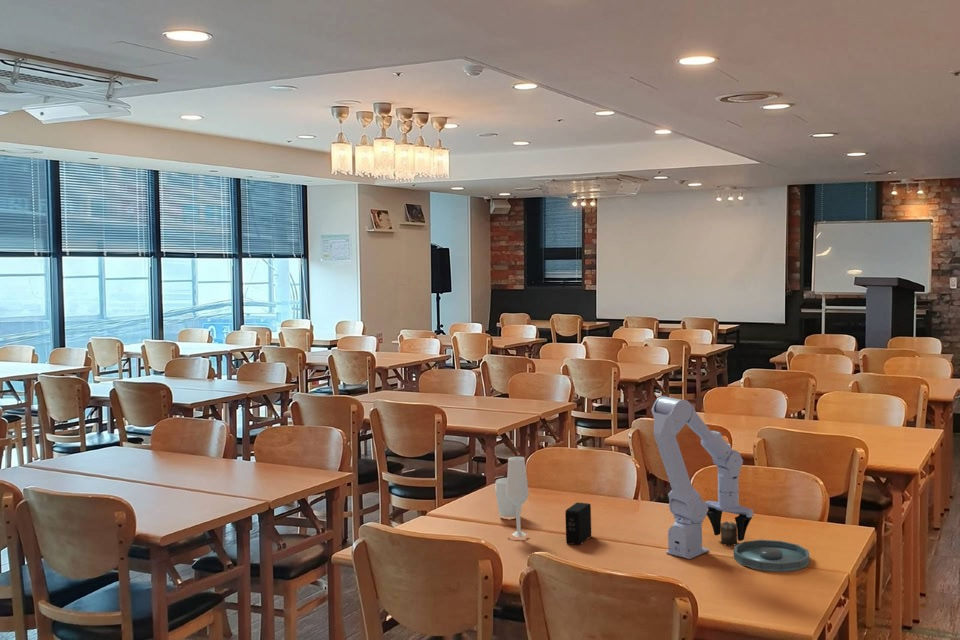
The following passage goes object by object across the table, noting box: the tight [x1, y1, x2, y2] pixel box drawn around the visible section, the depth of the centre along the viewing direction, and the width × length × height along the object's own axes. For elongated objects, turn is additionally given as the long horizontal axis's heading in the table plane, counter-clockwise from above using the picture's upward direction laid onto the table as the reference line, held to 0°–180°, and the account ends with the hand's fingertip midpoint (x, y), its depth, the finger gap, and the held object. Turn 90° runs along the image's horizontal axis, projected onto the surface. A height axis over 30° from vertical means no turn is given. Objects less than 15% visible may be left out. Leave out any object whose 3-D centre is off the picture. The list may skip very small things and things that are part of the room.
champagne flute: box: [506, 456, 530, 537], centre depth 269 cm, size 7×7×24 cm
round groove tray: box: [733, 539, 810, 573], centre depth 243 cm, size 19×19×2 cm
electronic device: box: [564, 502, 592, 546], centre depth 265 cm, size 4×10×10 cm, turn 152°
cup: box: [494, 477, 523, 517], centre depth 291 cm, size 9×9×12 cm
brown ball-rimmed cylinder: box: [720, 521, 738, 546], centre depth 258 cm, size 4×4×6 cm
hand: (729, 537), depth 258 cm, fingers open, 7 cm apart
